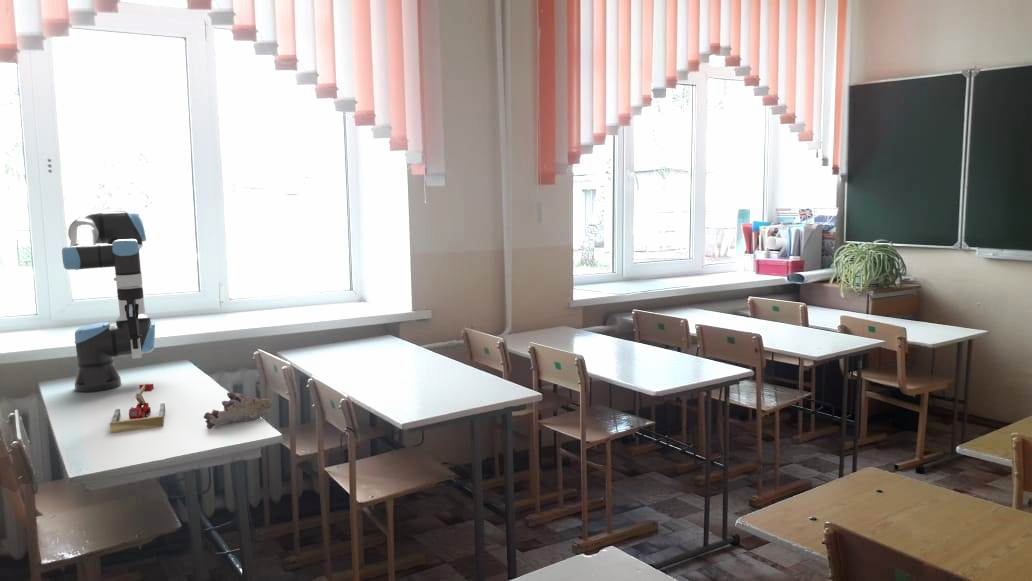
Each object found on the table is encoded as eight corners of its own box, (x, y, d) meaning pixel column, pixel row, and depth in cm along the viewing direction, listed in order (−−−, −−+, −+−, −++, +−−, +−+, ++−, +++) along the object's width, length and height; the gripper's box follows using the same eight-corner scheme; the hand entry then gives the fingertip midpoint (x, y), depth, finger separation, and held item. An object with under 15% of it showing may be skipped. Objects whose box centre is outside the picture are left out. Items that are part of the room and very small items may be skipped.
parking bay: (116, 416, 249) (115, 407, 248) (165, 410, 254) (164, 401, 254) (110, 433, 232) (109, 423, 232) (163, 426, 238) (162, 416, 237)
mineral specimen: (222, 416, 228) (209, 388, 232) (206, 435, 232) (194, 408, 236) (278, 409, 245) (266, 384, 249) (262, 427, 249) (250, 402, 253)
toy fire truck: (128, 424, 241) (125, 394, 239) (145, 411, 254) (142, 382, 253) (139, 423, 241) (136, 393, 240) (156, 410, 255) (153, 382, 253)
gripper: (118, 285, 255) (125, 354, 259) (114, 290, 243) (122, 363, 247) (143, 283, 258) (150, 352, 262) (141, 288, 246) (148, 360, 250)
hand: (136, 357), depth 254 cm, fingers closed
